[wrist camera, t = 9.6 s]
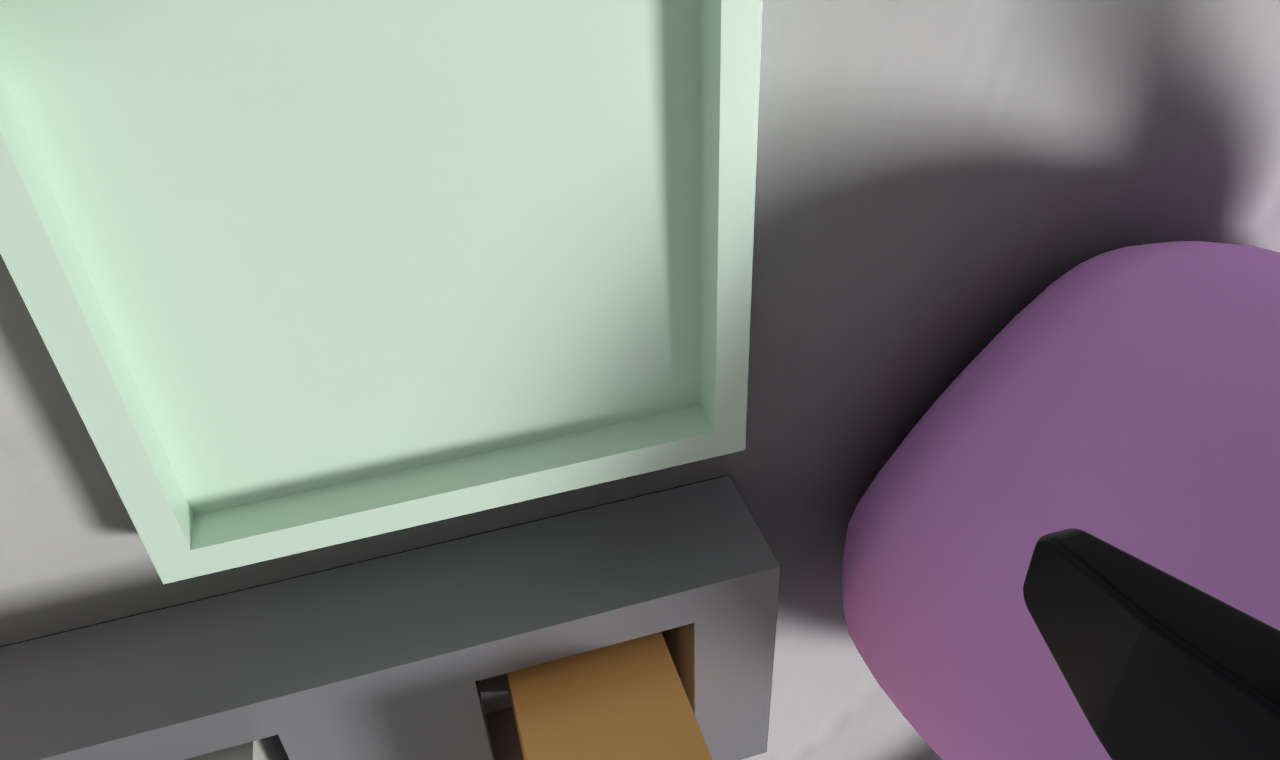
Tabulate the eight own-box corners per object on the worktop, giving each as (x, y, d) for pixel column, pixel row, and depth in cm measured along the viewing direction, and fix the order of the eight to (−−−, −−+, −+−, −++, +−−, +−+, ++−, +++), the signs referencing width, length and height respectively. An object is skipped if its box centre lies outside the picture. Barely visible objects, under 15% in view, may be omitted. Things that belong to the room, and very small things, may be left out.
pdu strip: (729, 475, 26) (780, 566, 24) (724, 658, 31) (766, 752, 28) (-84, 667, 22) (-136, 805, 19) (54, 845, 27) (28, 976, 24)
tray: (736, -190, 17) (769, -181, 16) (724, 414, 25) (745, 450, 24) (-138, -122, 14) (-176, -104, 13) (169, 537, 22) (163, 584, 21)
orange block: (634, 564, 26) (724, 790, 21) (639, 655, 29) (721, 880, 23) (490, 599, 26) (546, 845, 20) (508, 690, 28) (562, 932, 23)
